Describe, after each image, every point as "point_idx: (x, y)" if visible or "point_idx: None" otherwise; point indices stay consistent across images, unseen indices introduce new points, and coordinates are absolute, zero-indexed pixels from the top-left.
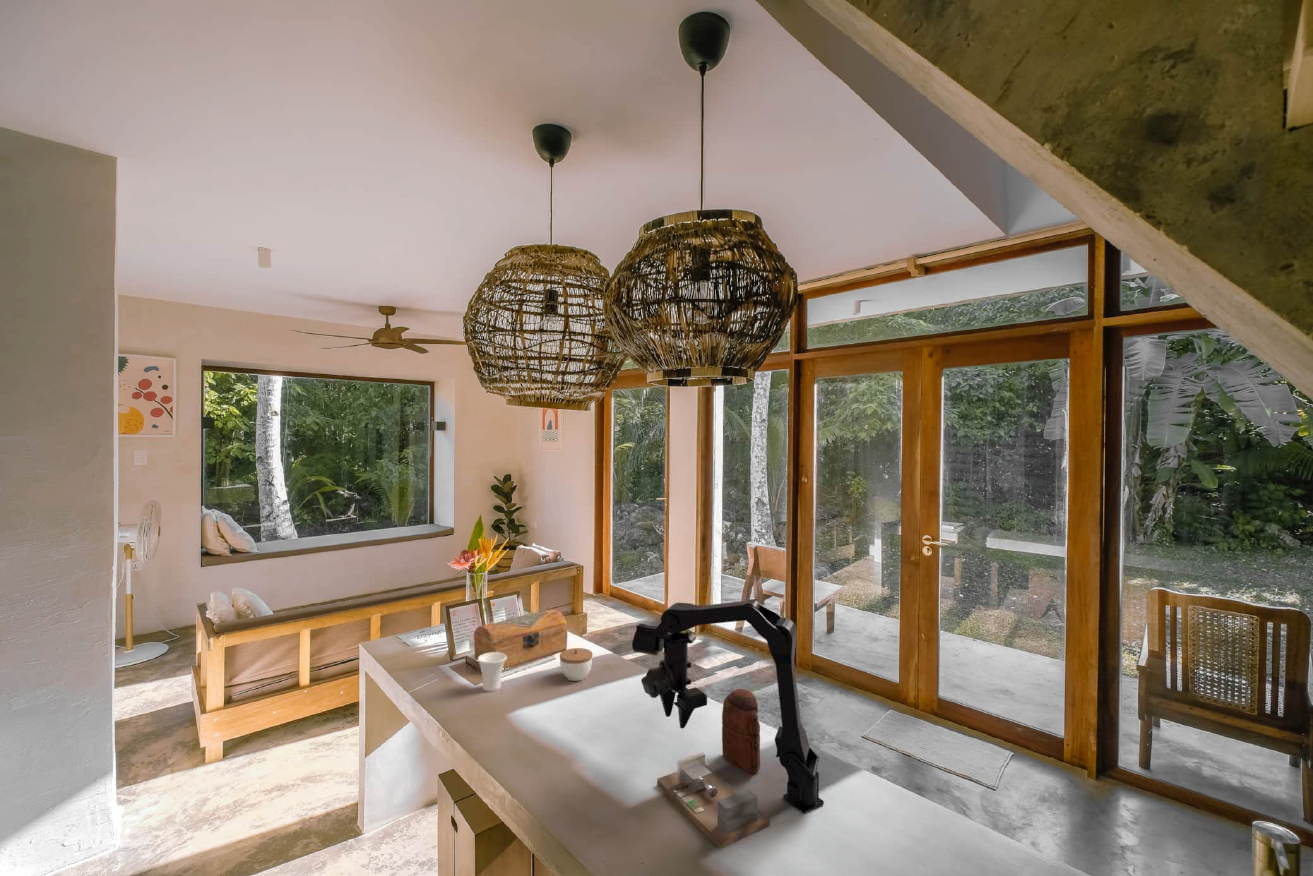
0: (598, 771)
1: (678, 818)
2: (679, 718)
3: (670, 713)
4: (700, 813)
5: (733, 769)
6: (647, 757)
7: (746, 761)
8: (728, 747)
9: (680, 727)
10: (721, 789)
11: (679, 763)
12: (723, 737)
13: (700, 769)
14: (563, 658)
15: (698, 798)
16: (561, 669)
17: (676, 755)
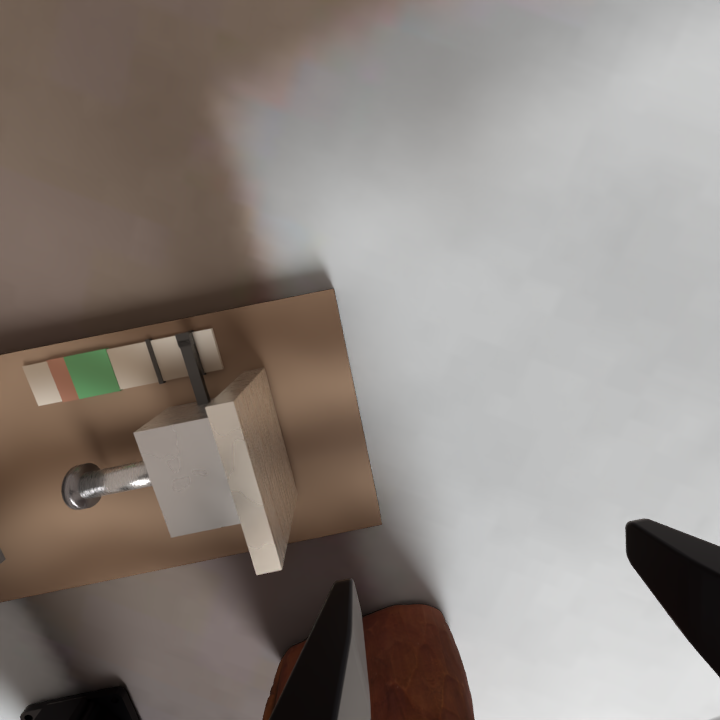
0: (545, 32)
1: (84, 295)
2: (320, 700)
3: (650, 584)
4: (28, 384)
5: None
6: (551, 317)
7: None
8: (385, 670)
9: (343, 584)
10: None
11: (213, 404)
12: (428, 697)
13: (214, 497)
14: None
15: (134, 414)
16: None
17: (511, 442)
